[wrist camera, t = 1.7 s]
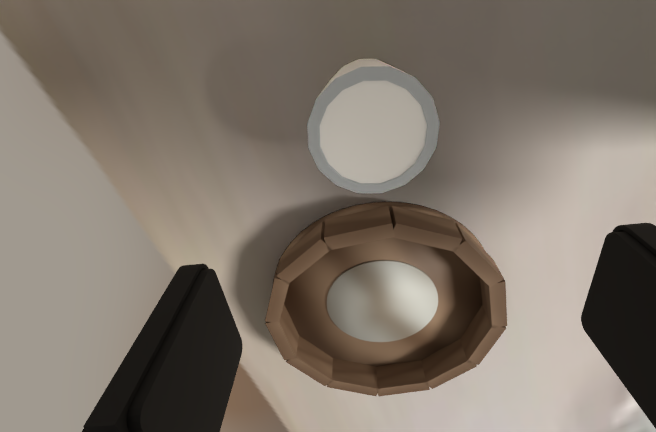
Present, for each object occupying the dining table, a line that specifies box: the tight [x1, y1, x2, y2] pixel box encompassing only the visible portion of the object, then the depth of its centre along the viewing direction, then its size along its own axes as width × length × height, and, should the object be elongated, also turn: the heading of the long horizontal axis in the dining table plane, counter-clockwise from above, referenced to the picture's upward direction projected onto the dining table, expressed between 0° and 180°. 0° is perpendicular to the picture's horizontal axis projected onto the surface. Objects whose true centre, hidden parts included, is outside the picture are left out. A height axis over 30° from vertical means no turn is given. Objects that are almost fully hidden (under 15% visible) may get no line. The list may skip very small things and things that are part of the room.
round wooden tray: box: [265, 202, 507, 396], centre depth 32 cm, size 20×20×4 cm
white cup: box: [307, 59, 440, 193], centre depth 22 cm, size 7×7×7 cm
